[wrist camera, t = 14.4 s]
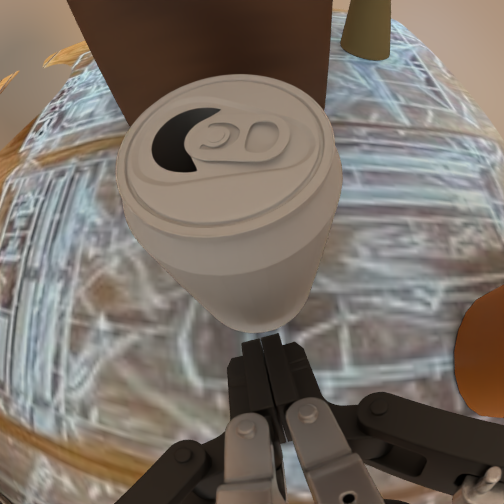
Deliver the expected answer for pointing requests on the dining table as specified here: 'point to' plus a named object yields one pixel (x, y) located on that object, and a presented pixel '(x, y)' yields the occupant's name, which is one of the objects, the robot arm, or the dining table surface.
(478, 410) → the mug
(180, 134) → the beverage can
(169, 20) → the box
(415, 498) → the dining table surface
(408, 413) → the robot arm
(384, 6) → the pepper shaker
